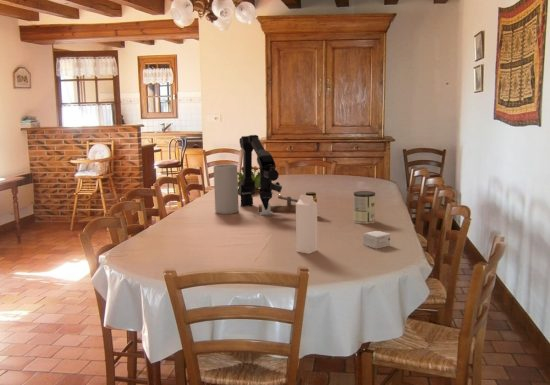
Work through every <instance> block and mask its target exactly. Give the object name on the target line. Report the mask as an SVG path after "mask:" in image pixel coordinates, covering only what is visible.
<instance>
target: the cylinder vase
mask: <svg viewBox="0 0 550 385" xmlns="http://www.w3.org/2000/svg"><path fill="white" fill-rule="evenodd" d="M237 172H238V164H230V163H229V164H217V165H215V164H214V165H213V184H214V186H213V187H214V189H213V190H214V211H215V213H217V214H220V215H233V214H237V213H238V212H239V210H240V209H239V195H238V189H239V187H238V181H239V180H238V177H239V175H238V173H239V172H238V173H237Z"/></svg>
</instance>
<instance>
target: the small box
mask: <svg viewBox="0 0 550 385" xmlns="http://www.w3.org/2000/svg"><path fill="white" fill-rule="evenodd" d="M362 245H363V246H365V247H368V246H369V247H370V248H373V249H375V248H376V249H375V250H377V248H378V249H381V248H382V249H383V248H385V247H386V246H387V247H391V233H389V232H384V231H380V230H374V231H369V232H364V233H362ZM369 247H368V248H369Z"/></svg>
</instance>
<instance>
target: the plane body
mask: <svg viewBox="0 0 550 385" xmlns="http://www.w3.org/2000/svg"><path fill="white" fill-rule="evenodd" d="M286 198H287V200H286V203H270V205H271V212H273V213H275V212H278V213H279V212H296V203H292V201H291V198H292V196H287V197H286ZM260 212H262V203H261V204H258V213H260Z"/></svg>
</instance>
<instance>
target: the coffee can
mask: <svg viewBox="0 0 550 385" xmlns="http://www.w3.org/2000/svg"><path fill="white" fill-rule="evenodd" d="M353 222H354V223H355V224H367V225H368V224H373V223H375V222H376V192H375V191H371V190H365V191H364V190H362V191H361V190H360V191H354V192H353Z"/></svg>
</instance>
